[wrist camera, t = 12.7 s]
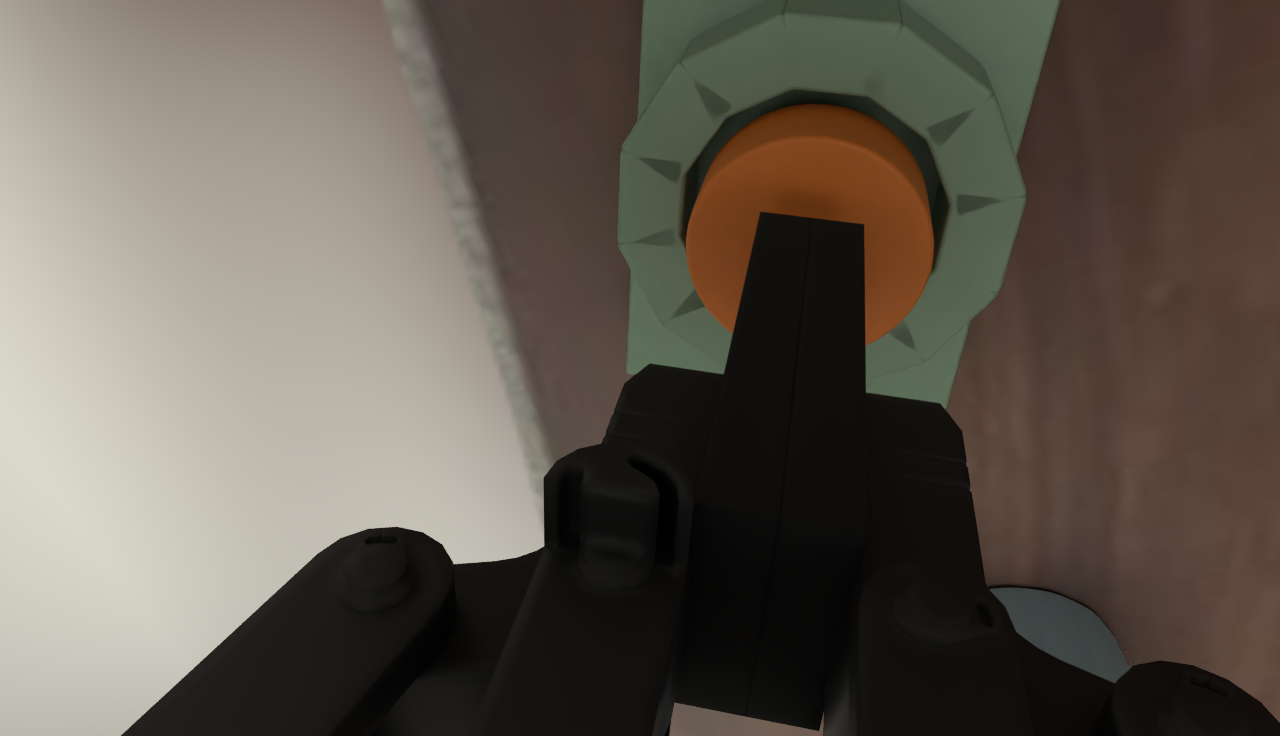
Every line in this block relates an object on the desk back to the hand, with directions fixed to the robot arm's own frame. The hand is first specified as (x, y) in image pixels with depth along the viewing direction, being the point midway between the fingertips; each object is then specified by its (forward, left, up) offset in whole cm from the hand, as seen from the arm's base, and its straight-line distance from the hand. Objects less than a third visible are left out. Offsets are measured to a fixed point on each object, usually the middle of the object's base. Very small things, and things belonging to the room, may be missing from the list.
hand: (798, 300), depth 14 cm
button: (0, 0, -3) cm, 3 cm away
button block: (0, 0, -7) cm, 7 cm away
